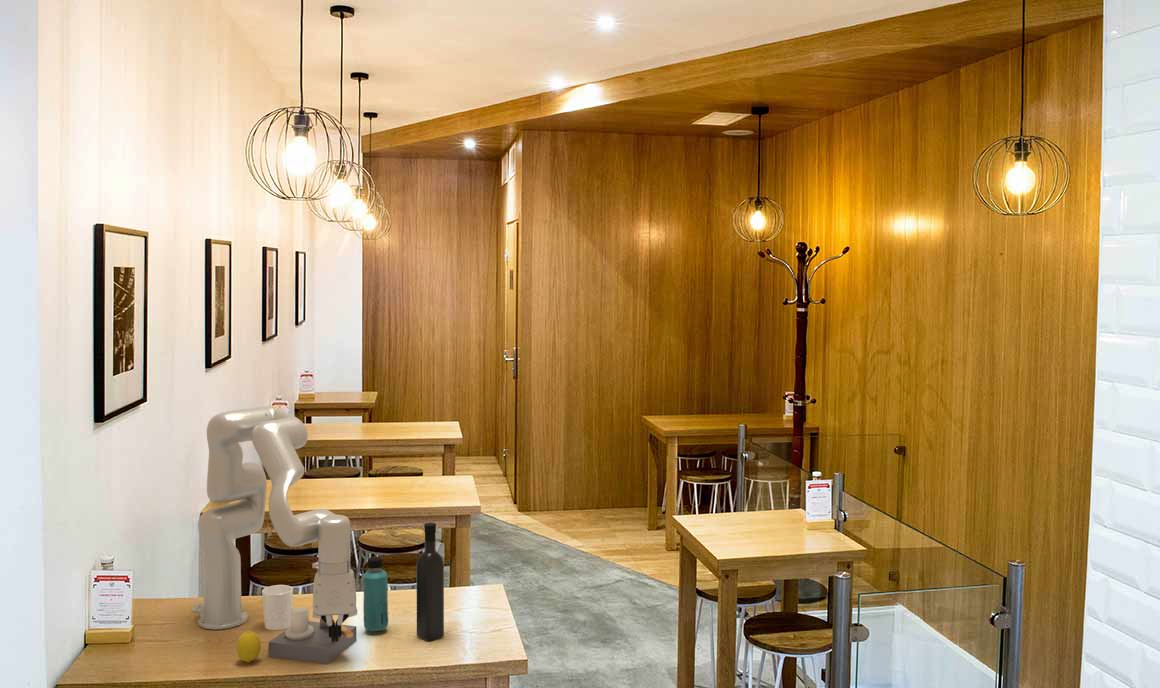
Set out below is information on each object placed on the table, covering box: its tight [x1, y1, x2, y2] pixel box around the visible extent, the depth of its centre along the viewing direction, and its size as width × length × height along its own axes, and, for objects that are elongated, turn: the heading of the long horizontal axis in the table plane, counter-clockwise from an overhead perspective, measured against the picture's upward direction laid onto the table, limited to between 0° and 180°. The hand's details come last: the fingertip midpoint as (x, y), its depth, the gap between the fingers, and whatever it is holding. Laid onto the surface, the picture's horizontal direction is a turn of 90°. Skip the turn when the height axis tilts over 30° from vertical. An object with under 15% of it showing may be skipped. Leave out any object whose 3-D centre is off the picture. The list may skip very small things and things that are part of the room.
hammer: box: [319, 618, 353, 638], centre depth 236 cm, size 16×2×4 cm, turn 40°
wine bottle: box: [415, 522, 445, 642], centre depth 245 cm, size 6×6×30 cm
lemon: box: [236, 630, 262, 664], centre depth 228 cm, size 6×6×8 cm
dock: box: [268, 620, 358, 665], centre depth 237 cm, size 16×15×4 cm
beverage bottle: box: [362, 556, 389, 632], centre depth 248 cm, size 6×7×20 cm
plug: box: [284, 606, 314, 640], centre depth 236 cm, size 7×7×10 cm
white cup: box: [261, 584, 294, 631], centre depth 252 cm, size 8×8×10 cm
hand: (335, 639), depth 231 cm, fingers closed
